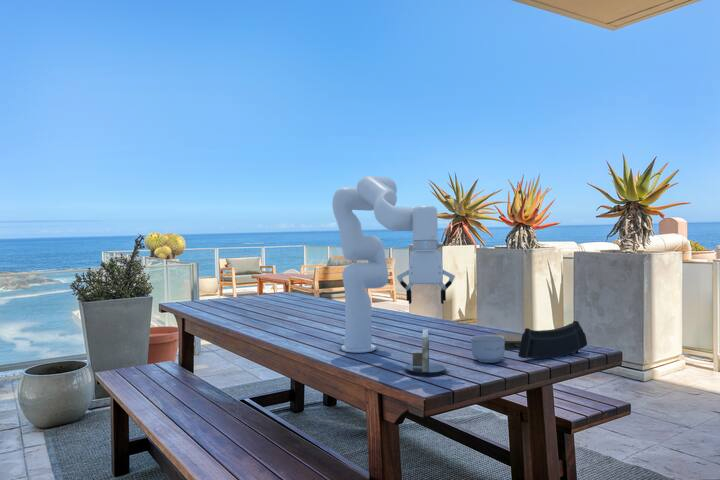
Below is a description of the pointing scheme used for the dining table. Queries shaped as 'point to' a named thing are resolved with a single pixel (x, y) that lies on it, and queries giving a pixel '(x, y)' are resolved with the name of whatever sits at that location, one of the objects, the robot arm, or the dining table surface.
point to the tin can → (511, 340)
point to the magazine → (552, 342)
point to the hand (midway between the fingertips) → (426, 303)
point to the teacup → (488, 348)
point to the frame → (422, 353)
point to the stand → (432, 370)
